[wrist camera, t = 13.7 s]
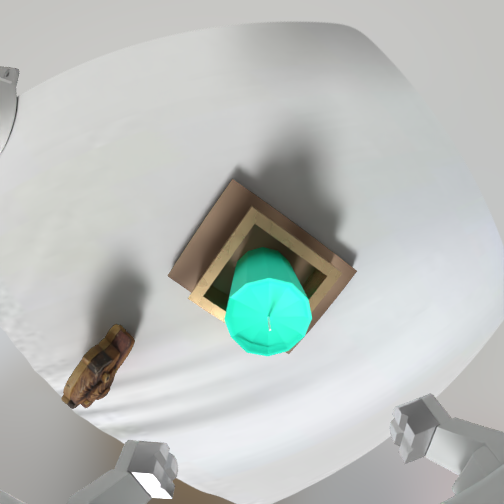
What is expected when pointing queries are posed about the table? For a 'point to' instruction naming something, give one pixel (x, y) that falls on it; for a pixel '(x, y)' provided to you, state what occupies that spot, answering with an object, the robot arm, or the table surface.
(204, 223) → the candle stand
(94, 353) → the wooden carving
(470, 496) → the robot arm
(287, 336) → the candle
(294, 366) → the table surface
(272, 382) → the table surface
